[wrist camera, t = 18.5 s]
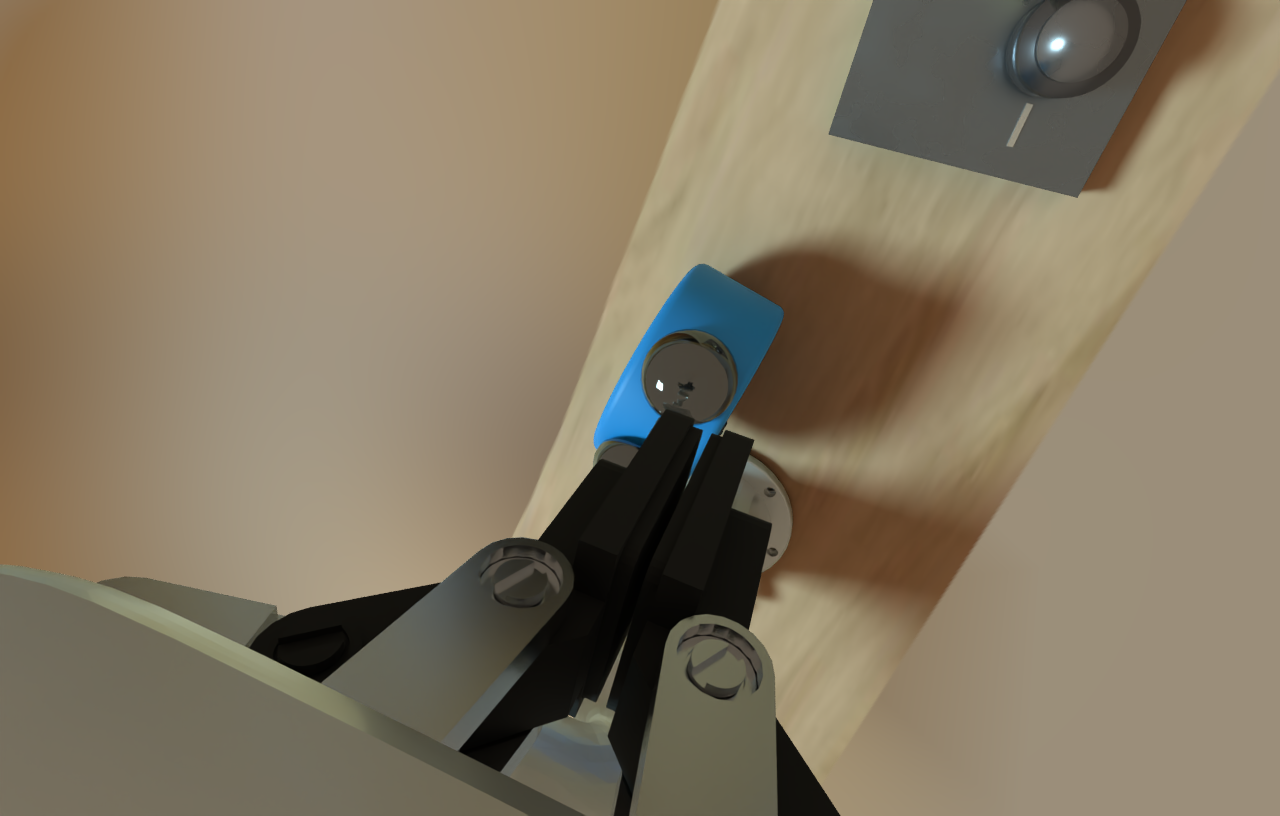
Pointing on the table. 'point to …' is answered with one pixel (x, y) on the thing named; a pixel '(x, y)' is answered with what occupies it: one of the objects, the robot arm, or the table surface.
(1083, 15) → the knob
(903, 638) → the table surface
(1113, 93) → the control panel
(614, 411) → the alarm clock
